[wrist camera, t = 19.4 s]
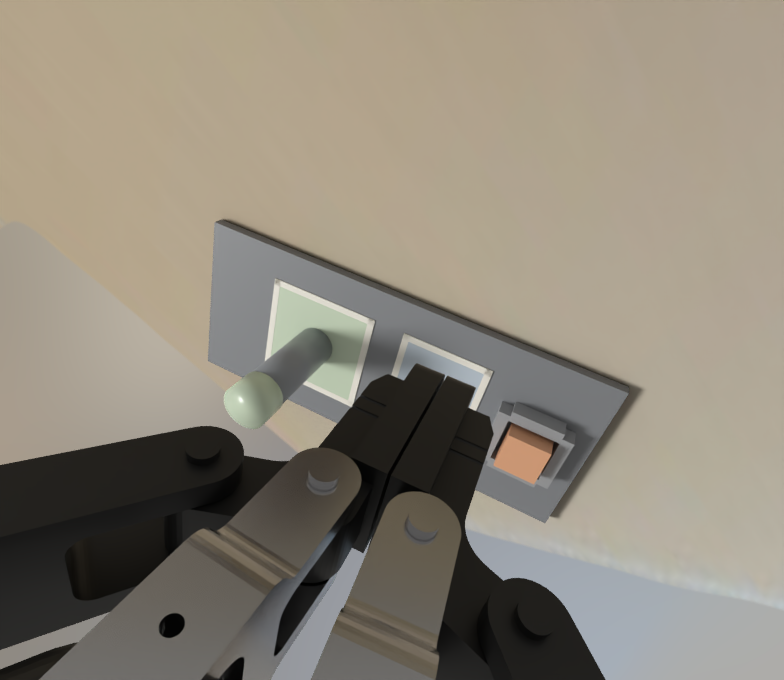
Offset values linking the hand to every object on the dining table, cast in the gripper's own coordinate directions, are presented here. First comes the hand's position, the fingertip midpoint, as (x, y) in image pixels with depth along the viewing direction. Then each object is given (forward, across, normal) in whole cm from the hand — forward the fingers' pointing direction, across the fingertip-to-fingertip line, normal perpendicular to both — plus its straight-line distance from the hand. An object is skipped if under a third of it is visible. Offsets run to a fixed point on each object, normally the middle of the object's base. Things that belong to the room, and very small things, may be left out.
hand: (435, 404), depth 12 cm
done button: (+26, -6, +20) cm, 34 cm away
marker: (+27, +15, +20) cm, 36 cm away
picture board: (+28, +8, +20) cm, 35 cm away
